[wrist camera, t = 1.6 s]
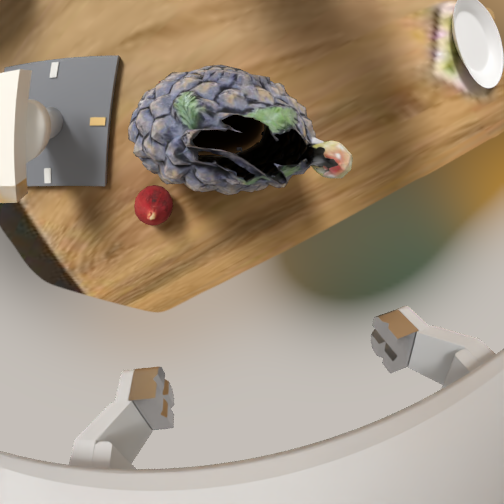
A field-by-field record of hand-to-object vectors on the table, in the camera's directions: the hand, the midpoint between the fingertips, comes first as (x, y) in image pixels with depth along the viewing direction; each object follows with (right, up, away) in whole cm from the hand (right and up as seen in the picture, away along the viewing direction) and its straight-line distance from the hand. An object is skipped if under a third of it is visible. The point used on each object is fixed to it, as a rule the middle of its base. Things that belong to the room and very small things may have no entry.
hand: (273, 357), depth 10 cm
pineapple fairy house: (-7, +24, +31) cm, 40 cm away
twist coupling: (-29, +19, +15) cm, 37 cm away
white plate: (+53, +56, +31) cm, 83 cm away
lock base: (-31, +24, +23) cm, 46 cm away
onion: (-16, +13, +35) cm, 40 cm away
